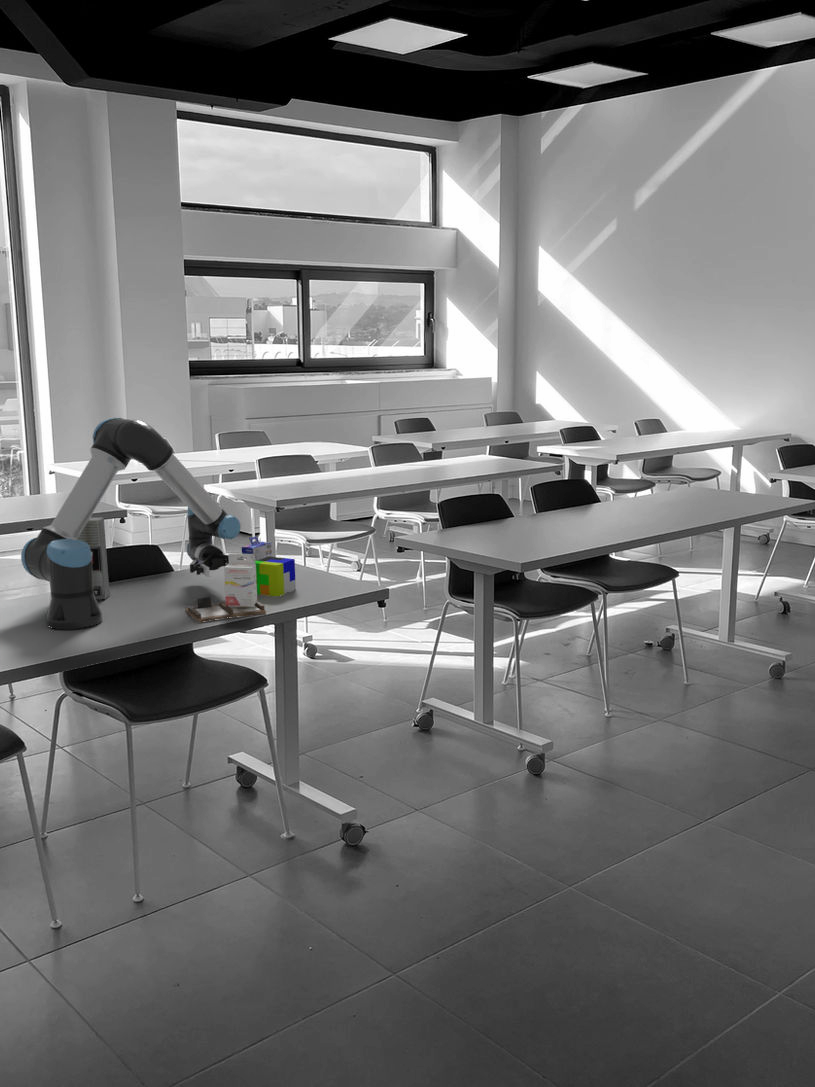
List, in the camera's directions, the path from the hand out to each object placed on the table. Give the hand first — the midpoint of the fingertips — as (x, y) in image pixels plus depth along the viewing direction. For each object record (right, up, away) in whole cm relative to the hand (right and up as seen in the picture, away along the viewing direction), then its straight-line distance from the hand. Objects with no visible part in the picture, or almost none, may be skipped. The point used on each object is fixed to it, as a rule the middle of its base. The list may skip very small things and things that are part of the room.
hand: (230, 569), depth 318 cm
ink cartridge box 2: (+4, -5, +32) cm, 33 cm away
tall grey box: (-47, -9, +12) cm, 50 cm away
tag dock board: (0, -12, -7) cm, 15 cm away
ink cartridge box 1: (+5, -10, -7) cm, 13 cm away
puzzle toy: (+11, -8, +17) cm, 22 cm away
